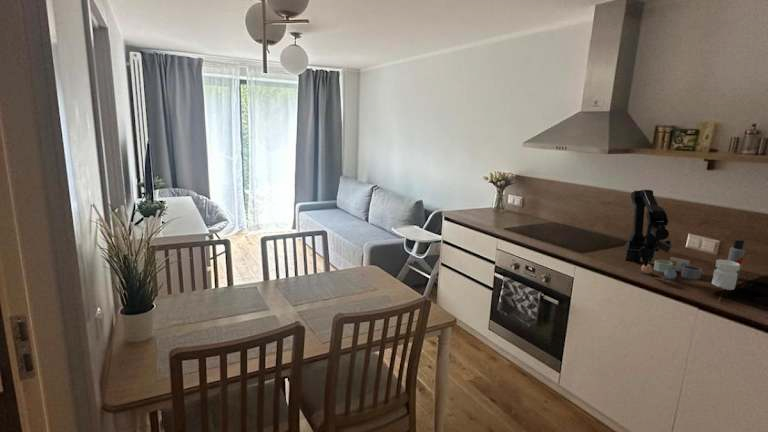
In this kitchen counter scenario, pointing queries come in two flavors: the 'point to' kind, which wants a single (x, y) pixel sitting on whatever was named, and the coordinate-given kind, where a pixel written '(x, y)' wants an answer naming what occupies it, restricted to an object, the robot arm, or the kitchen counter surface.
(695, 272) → the tube right
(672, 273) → the ball slate
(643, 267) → the ball terracotta
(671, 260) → the dot card
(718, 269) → the vase
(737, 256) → the lotion bottle
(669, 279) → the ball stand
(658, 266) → the tube left
